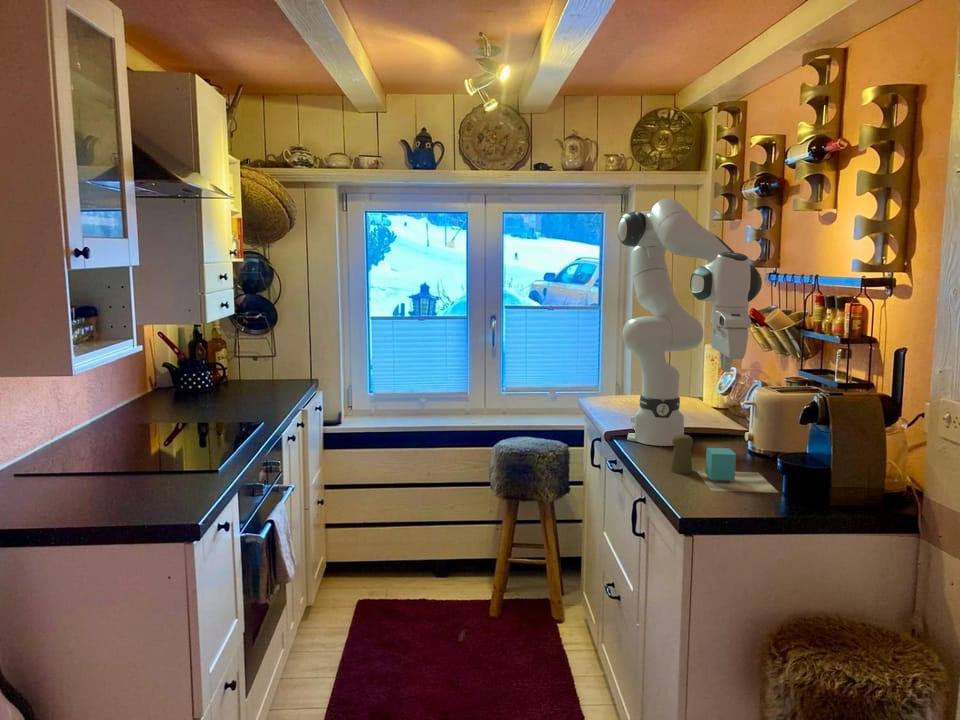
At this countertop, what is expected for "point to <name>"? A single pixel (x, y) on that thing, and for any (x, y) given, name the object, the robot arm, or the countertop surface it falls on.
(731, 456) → the teal rounded cube
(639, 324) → the robot arm
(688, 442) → the cork
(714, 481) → the stand
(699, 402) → the countertop surface
